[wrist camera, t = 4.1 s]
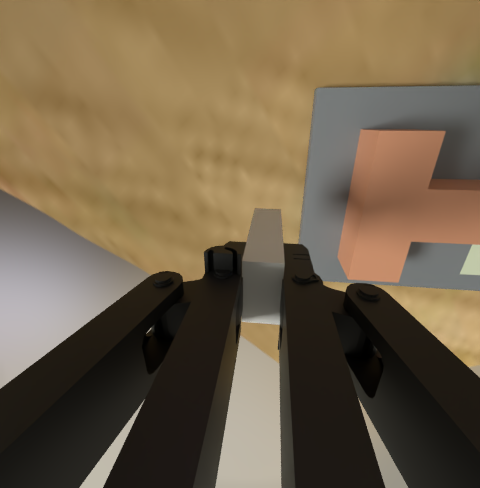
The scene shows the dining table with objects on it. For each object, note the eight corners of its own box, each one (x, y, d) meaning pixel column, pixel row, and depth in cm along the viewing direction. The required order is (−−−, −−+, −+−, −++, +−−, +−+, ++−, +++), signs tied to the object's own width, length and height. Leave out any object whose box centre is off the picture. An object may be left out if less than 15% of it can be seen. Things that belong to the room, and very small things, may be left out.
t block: (337, 257, 22) (347, 279, 19) (360, 129, 18) (379, 130, 15) (457, 263, 21) (489, 288, 18) (512, 129, 17) (568, 131, 14)
